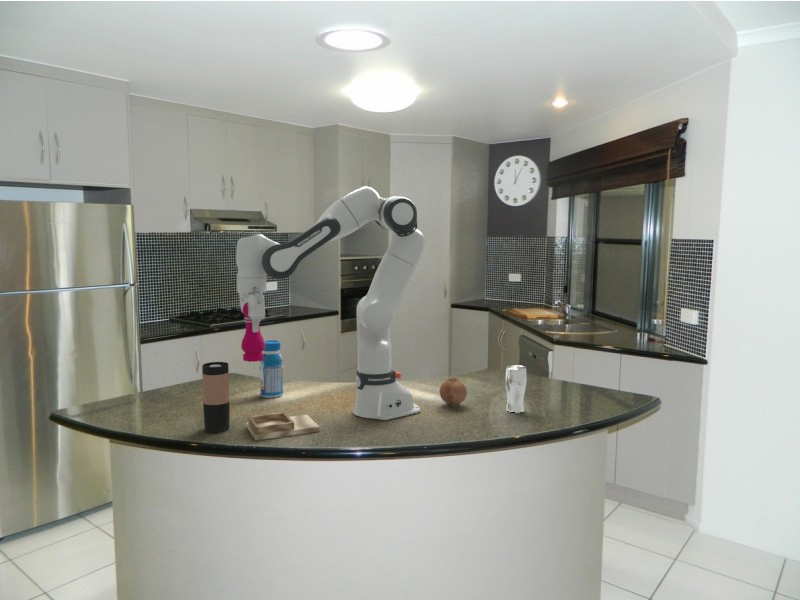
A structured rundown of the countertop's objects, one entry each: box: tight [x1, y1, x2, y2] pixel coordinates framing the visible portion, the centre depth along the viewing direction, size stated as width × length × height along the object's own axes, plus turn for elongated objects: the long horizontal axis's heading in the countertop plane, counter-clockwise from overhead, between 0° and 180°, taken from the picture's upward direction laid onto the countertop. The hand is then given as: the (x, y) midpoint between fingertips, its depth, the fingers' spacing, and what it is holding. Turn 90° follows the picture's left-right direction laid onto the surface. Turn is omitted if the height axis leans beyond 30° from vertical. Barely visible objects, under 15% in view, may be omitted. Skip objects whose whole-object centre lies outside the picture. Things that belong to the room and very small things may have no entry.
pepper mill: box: [240, 302, 265, 363], centre depth 182 cm, size 7×7×20 cm
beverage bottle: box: [259, 339, 284, 399], centre depth 213 cm, size 8×8×20 cm
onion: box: [439, 376, 468, 407], centre depth 202 cm, size 10×9×10 cm
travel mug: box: [201, 361, 231, 434], centre depth 175 cm, size 8×8×20 cm
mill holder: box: [246, 411, 320, 441], centre depth 176 cm, size 19×13×4 cm
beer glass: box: [504, 364, 527, 414], centre depth 196 cm, size 7×7×15 cm
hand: (253, 330), depth 182 cm, fingers closed on pepper mill, 5 cm apart
